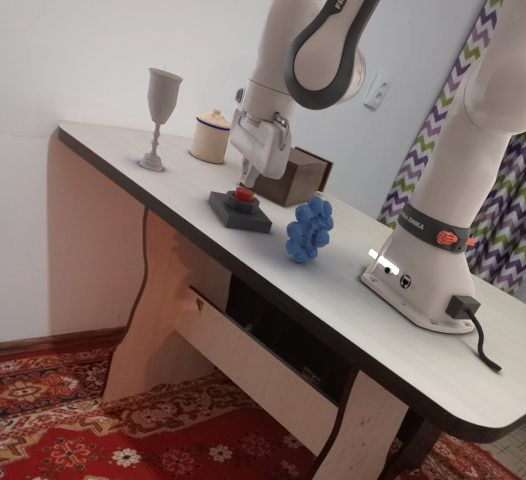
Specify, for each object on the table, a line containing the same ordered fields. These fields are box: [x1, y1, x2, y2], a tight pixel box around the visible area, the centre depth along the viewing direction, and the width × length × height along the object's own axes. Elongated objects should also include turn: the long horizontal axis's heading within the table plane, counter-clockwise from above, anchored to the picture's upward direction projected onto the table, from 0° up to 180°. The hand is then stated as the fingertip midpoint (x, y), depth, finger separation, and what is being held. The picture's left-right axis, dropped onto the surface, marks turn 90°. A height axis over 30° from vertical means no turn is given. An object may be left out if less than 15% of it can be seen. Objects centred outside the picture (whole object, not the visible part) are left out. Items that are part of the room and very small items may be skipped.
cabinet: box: [239, 146, 324, 208], centre depth 109 cm, size 15×13×10 cm
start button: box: [234, 186, 255, 202], centre depth 88 cm, size 4×4×2 cm
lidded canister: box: [190, 107, 231, 164], centre depth 117 cm, size 12×9×12 cm
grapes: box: [285, 195, 335, 264], centre depth 77 cm, size 12×7×12 cm, turn 136°
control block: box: [208, 190, 273, 234], centre depth 89 cm, size 12×9×4 cm
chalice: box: [139, 67, 184, 172], centre depth 95 cm, size 7×7×18 cm
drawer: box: [293, 146, 335, 193], centre depth 118 cm, size 18×11×8 cm, turn 149°
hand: (245, 184), depth 87 cm, fingers closed
